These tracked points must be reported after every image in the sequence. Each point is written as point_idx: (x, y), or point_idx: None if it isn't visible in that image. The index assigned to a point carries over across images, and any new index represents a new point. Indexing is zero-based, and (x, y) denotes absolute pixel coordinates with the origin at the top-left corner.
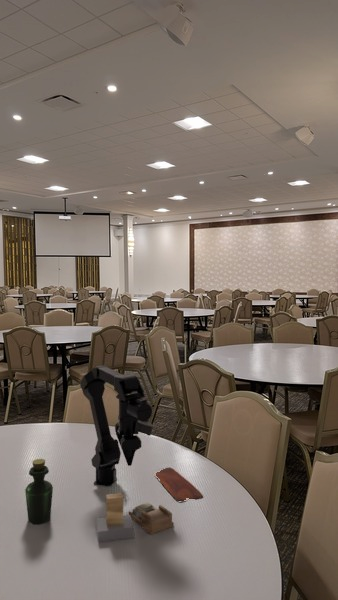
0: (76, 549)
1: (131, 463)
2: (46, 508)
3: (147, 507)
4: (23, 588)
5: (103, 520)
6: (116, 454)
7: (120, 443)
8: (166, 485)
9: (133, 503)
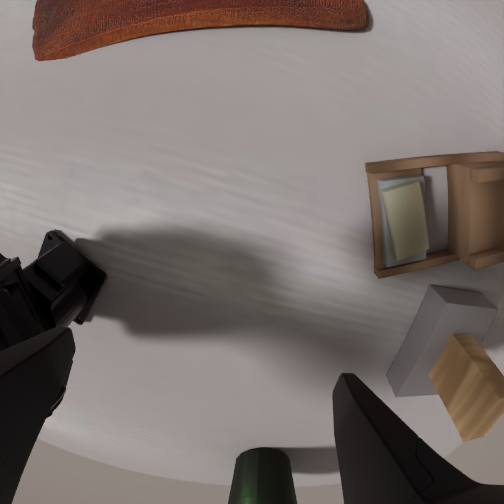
0: (427, 409)
1: (364, 387)
2: (291, 482)
3: (423, 210)
4: (446, 451)
5: (417, 381)
6: (10, 324)
7: (29, 450)
8: (199, 17)
9: (294, 224)
